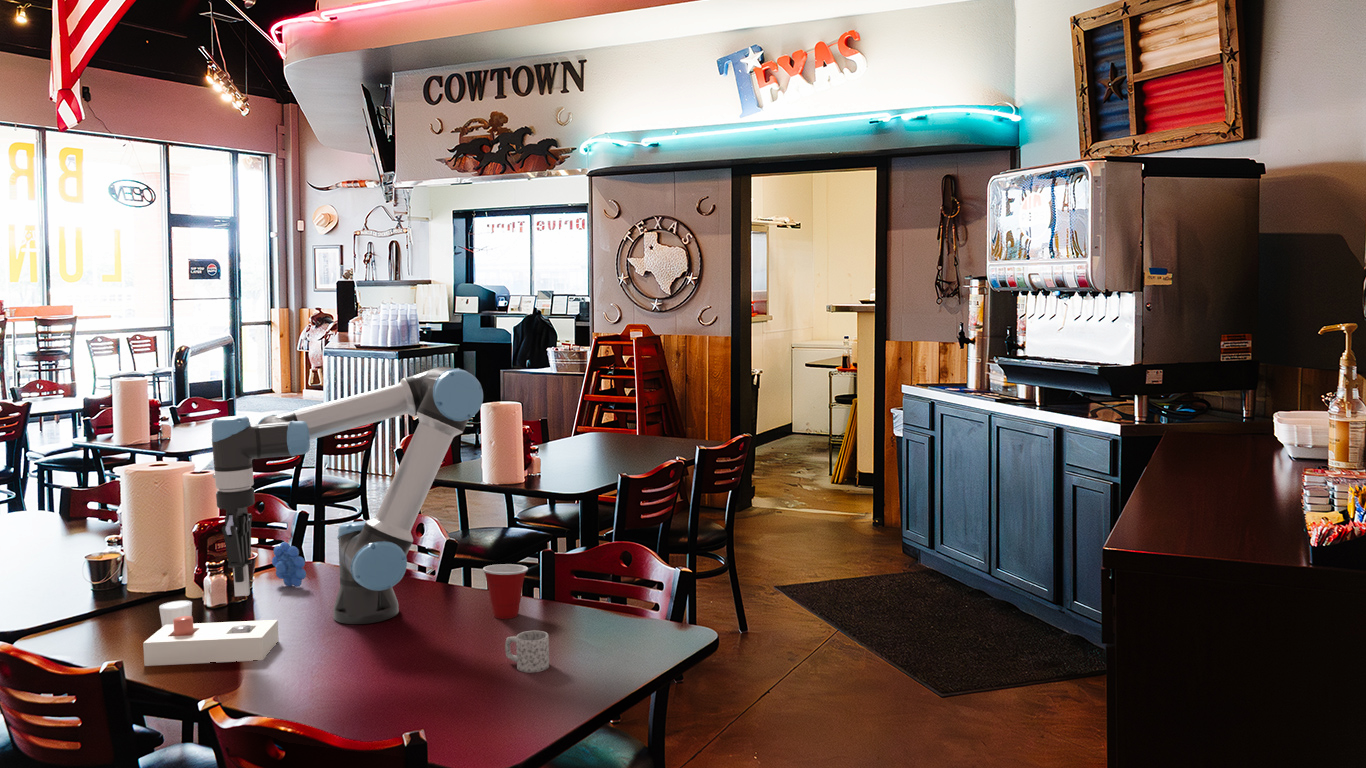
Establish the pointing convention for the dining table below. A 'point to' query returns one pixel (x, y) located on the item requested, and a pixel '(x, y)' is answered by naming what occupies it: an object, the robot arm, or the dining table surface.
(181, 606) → the white short tapered cylinder
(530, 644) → the mug
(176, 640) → the button box
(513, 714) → the dining table surface
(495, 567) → the plastic cup
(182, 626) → the red button
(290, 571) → the grapes
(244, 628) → the steel button
